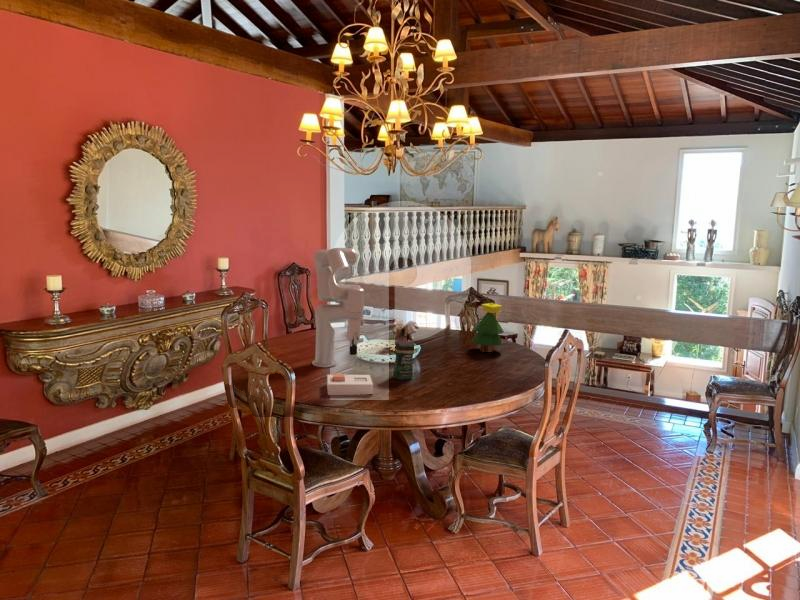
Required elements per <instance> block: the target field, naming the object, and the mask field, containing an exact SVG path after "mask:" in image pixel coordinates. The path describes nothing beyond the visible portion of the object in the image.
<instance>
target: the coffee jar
mask: <svg viewBox="0 0 800 600" xmlns="http://www.w3.org/2000/svg"><path fill="white" fill-rule="evenodd" d="M414 346H415V343H414V342H413V341H410V340H409V341H408V342H396V346H395V351H394V352H395V361H394V366H393V373H392V376H393V378H394V379H396V380H400V381H402V380H403V381H404V380H411V379H413V377H414V372H413V371H414V370H413V358H414V357H413V356H414V354H415V353H414V351H415V349H414Z"/></svg>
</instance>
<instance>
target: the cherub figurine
mask: <svg viewBox="0 0 800 600" xmlns="http://www.w3.org/2000/svg"><path fill="white" fill-rule="evenodd" d="M392 327H393V329H392V332H393V335H394V344H395V345H396V342H410V341H411V342H413V341H414V340H415V337H414V336H412V335H413V333H414V334H416V333H417V330H418V329H420V326H419V325H418V324H417V322H416V321H414V320H410V321H408V322H406V324H404V323H403V321H402V319H400V318H398V317H397V318H395V319H394V322H393V324H392Z"/></svg>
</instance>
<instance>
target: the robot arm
mask: <svg viewBox="0 0 800 600" xmlns="http://www.w3.org/2000/svg"><path fill="white" fill-rule="evenodd" d="M357 261H358V255H357V252H356V250H355V249H354V248H352V247H333V248H331V249H319V250H317V251H315V252H314V255H313V264H314V268H315V271H316V275H317V279H316V281H317V283H316V284H317V298H318V300H319V301H320V302H324V303H327V304H320V305H317V306H316V308H315V309H314V319H315V327H316V329H315V330H316V331H315V354H314V355H315V356H314V358H315V359H313V360H312V365H313V366H314V367H317V368H332V367H335V366H337V361H336V360H334V359H335V358H334V357H335V339H336V338H335V337H336V336H335V335H336V333H335V329H334V327H333V326H332V325H331V324H336V323H337V324H338V323H346V322H347V332H346V337H347V338H346V339H347V341H349V342H350V344H349V355H351V356H357V354H358V342H359V341H360V339H361V321H362V320H363V319H364V311H365V309H364V307H365V289H364V288H362V287H361V286H360V285H359V284H350V283H349V284H345V283H344V282H343V283H341V281H342V280H345V279H347V278H348V277H349V276H350V274H351V271H352V269H351V267H350V266H355V264H357ZM328 302H329V303H330V304H329V303H328ZM331 302H332V303H334V302H335V304H331ZM337 302H338V303H337ZM336 303H337V304H336Z"/></svg>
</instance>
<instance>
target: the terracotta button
mask: <svg viewBox="0 0 800 600" xmlns="http://www.w3.org/2000/svg"><path fill="white" fill-rule="evenodd" d="M332 375H333V381H345V375H346V374H345V373H333V374H332Z"/></svg>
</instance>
